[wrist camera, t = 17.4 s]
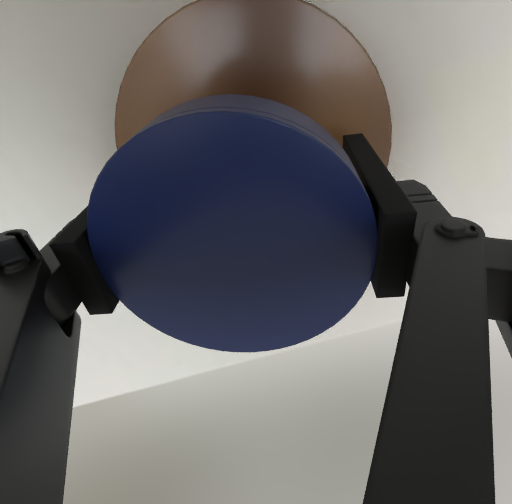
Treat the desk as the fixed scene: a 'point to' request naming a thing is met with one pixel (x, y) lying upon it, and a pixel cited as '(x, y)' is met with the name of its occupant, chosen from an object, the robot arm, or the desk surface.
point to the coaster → (257, 67)
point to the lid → (233, 225)
